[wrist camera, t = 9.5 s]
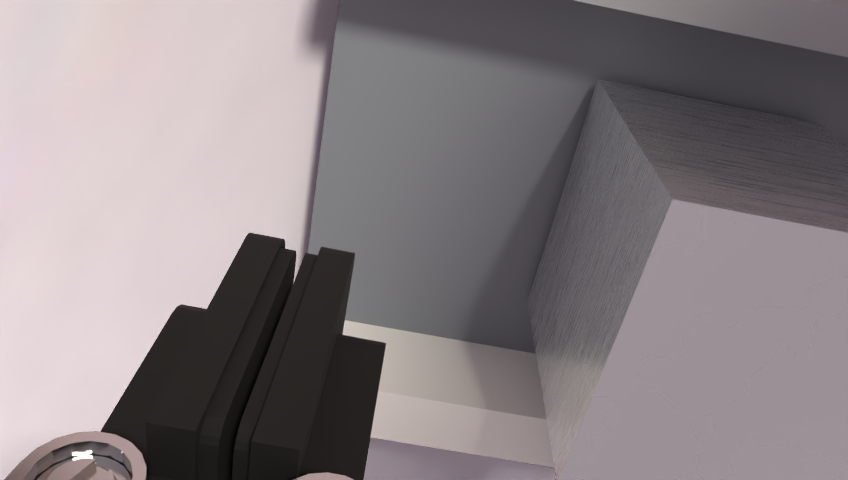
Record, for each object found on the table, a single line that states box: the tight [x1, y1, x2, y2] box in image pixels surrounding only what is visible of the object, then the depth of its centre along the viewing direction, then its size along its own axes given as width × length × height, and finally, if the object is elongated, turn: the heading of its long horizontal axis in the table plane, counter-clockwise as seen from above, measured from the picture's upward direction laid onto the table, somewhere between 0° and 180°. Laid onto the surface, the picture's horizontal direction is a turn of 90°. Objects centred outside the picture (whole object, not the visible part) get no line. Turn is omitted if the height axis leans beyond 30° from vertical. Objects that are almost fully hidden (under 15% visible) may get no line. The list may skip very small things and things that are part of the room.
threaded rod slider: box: [527, 79, 848, 480], centre depth 18 cm, size 11×14×7 cm
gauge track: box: [308, 0, 848, 468], centre depth 17 cm, size 14×24×11 cm, turn 79°
